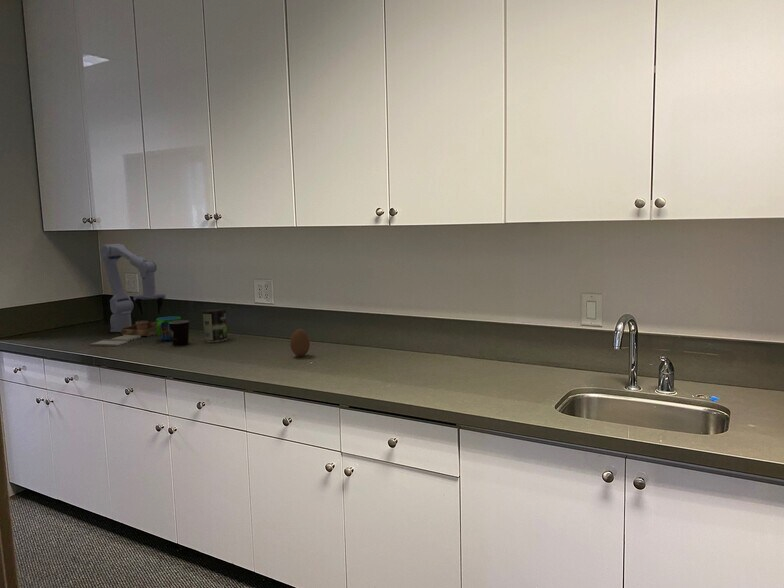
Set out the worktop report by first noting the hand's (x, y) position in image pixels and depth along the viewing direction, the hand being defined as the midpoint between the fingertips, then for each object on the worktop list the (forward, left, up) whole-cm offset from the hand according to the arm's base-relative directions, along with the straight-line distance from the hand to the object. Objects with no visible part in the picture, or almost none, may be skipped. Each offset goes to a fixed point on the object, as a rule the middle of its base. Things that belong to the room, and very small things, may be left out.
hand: (151, 313), depth 299 cm
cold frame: (-4, -2, -10) cm, 11 cm away
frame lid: (-3, -25, -10) cm, 27 cm away
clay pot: (-4, -2, -10) cm, 11 cm away
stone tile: (-3, -14, -10) cm, 17 cm away
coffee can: (+42, -7, -10) cm, 43 cm away
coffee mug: (+32, -19, -10) cm, 38 cm away
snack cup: (+19, -10, -10) cm, 23 cm away
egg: (+96, -27, -10) cm, 100 cm away
